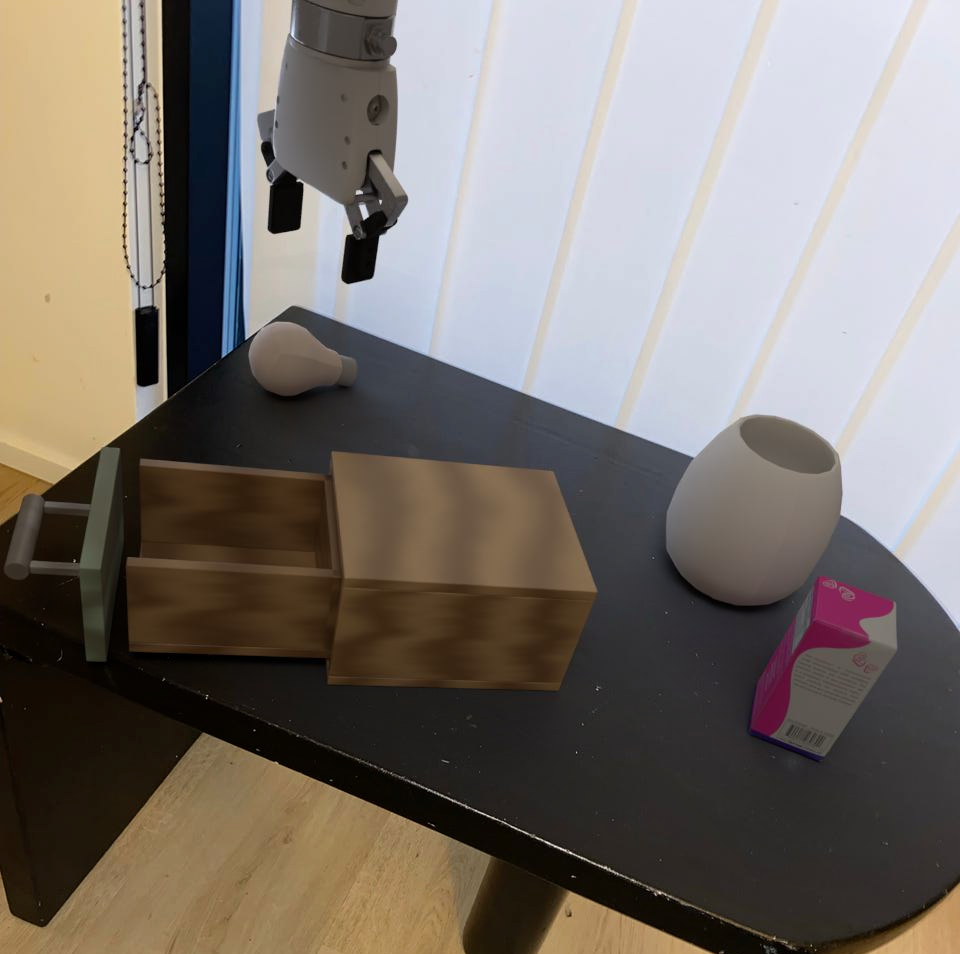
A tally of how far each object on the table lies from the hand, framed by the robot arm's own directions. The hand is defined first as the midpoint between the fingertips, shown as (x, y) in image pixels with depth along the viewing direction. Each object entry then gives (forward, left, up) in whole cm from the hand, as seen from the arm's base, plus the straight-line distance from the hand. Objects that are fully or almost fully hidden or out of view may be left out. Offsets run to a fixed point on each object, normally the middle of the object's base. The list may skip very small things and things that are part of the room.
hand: (319, 255), depth 84 cm
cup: (+40, +14, -13) cm, 44 cm away
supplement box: (+53, +3, -13) cm, 55 cm away
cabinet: (+30, -12, -13) cm, 35 cm away
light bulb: (0, 0, -13) cm, 13 cm away
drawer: (+19, -27, -12) cm, 35 cm away
